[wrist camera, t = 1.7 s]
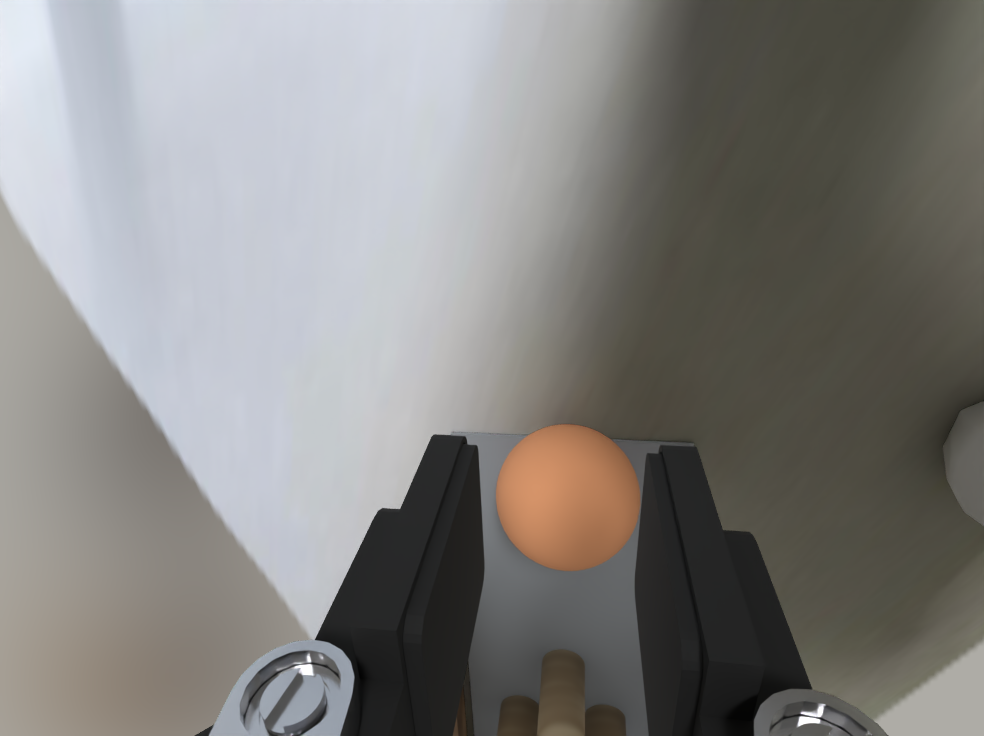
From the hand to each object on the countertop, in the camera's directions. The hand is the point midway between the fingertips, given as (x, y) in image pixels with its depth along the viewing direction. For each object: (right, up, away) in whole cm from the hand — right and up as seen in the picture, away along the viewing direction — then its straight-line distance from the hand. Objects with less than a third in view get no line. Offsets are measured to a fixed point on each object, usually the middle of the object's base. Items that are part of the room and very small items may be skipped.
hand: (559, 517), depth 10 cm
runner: (+3, -12, +23) cm, 26 cm away
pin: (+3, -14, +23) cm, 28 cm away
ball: (+2, -3, +15) cm, 15 cm away
